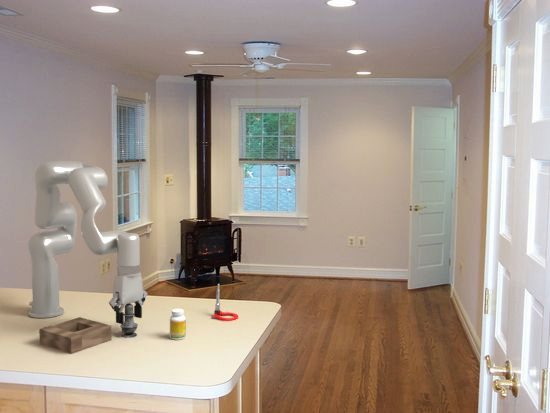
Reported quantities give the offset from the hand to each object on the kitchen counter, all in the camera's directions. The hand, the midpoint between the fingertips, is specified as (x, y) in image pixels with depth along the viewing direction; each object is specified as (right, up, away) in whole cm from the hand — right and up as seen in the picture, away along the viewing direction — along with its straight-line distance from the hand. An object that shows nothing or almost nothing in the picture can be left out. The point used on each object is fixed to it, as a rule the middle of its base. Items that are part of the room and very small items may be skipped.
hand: (129, 319), depth 205 cm
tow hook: (+31, -4, +23) cm, 39 cm away
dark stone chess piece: (0, -6, +1) cm, 6 cm away
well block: (-16, -6, -7) cm, 18 cm away
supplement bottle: (+17, -6, -1) cm, 18 cm away
